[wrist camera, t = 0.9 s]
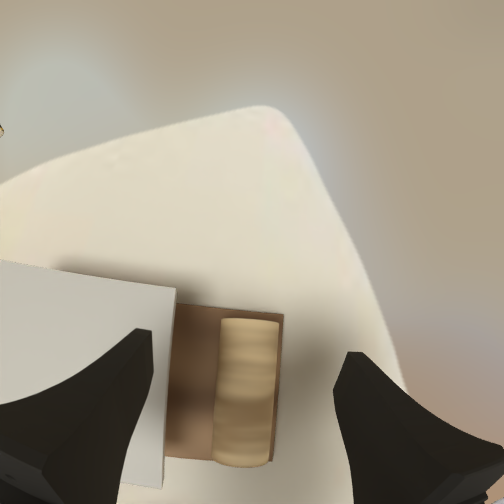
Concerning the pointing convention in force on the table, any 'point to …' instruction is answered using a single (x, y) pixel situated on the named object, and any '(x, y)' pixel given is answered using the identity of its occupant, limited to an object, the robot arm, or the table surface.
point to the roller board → (201, 378)
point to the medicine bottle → (1, 131)
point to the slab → (85, 344)
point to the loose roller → (244, 392)
